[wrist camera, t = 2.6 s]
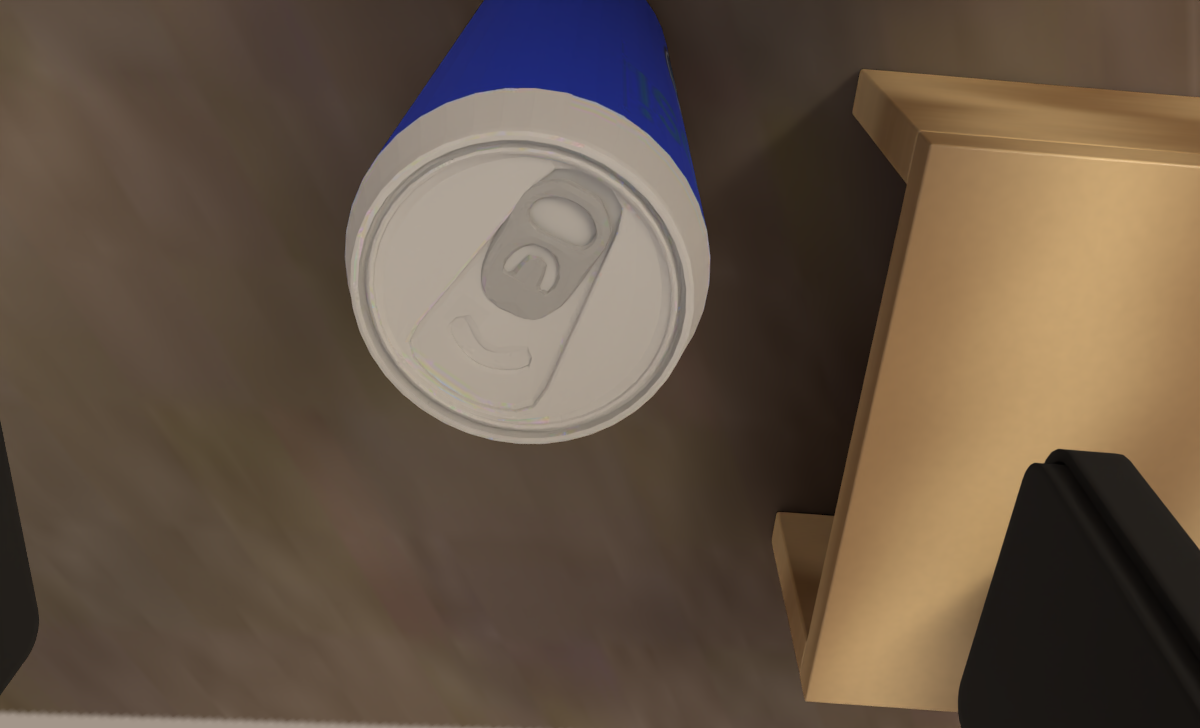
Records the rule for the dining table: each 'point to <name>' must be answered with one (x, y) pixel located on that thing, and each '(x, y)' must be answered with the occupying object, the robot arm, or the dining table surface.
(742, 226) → the dining table surface
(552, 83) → the beverage can
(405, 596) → the dining table surface
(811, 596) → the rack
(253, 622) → the dining table surface
